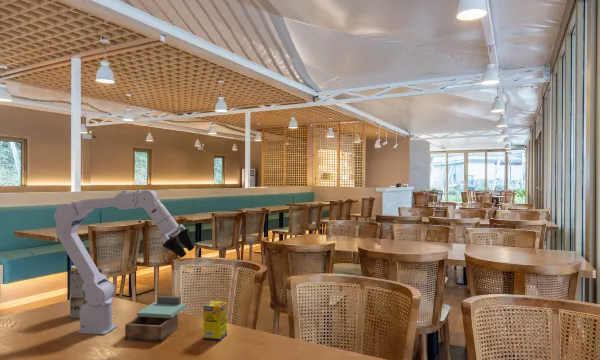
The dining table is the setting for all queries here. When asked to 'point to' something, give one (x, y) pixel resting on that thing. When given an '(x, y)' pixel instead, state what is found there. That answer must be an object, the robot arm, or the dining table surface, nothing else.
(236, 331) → the dining table surface
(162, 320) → the crate
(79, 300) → the coffee box
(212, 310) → the supplement box
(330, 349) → the dining table surface
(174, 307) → the lid
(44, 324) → the dining table surface
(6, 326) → the dining table surface
